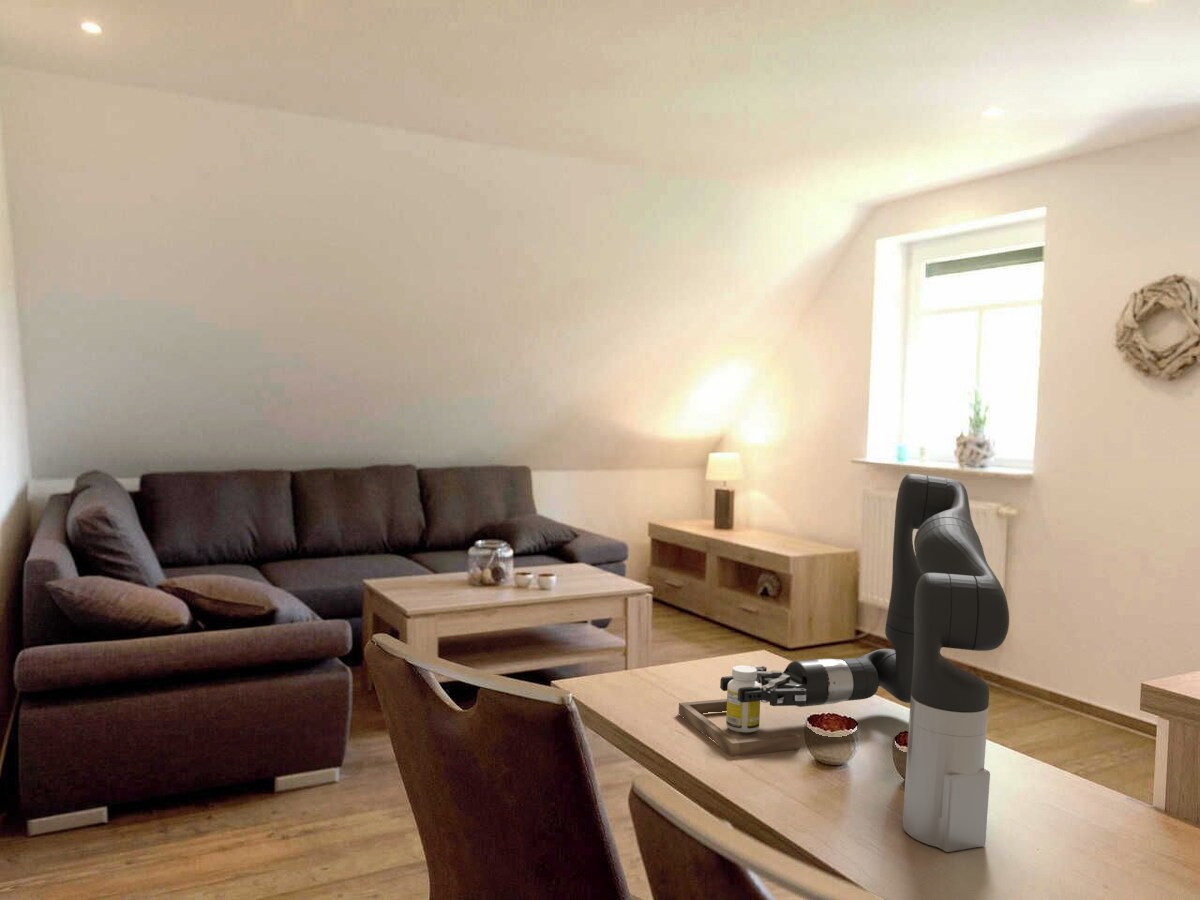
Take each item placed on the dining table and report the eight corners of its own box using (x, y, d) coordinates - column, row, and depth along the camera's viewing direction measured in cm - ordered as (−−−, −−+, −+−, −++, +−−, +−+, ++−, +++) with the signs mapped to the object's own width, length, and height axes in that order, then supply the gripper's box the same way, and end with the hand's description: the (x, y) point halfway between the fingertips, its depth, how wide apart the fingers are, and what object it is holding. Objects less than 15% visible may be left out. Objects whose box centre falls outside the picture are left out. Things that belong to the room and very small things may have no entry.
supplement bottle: (757, 723, 154) (760, 665, 153) (760, 734, 148) (762, 674, 148) (725, 720, 154) (727, 663, 154) (726, 732, 149) (729, 672, 148)
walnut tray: (799, 749, 144) (800, 736, 144) (731, 756, 140) (732, 743, 140) (740, 709, 162) (740, 697, 162) (678, 714, 158) (679, 702, 158)
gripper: (796, 648, 163) (710, 655, 157) (845, 672, 149) (753, 680, 143) (794, 690, 163) (708, 698, 157) (842, 717, 150) (751, 727, 144)
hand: (730, 689), depth 150 cm, fingers closed on supplement bottle, 5 cm apart
